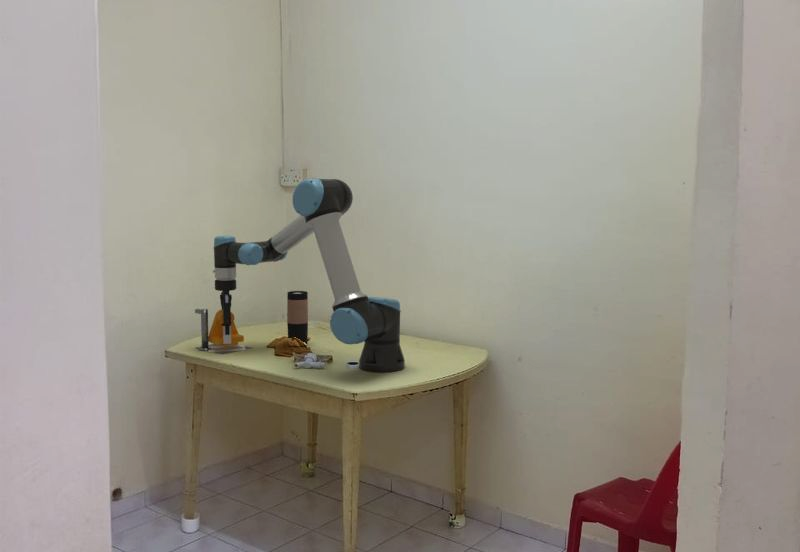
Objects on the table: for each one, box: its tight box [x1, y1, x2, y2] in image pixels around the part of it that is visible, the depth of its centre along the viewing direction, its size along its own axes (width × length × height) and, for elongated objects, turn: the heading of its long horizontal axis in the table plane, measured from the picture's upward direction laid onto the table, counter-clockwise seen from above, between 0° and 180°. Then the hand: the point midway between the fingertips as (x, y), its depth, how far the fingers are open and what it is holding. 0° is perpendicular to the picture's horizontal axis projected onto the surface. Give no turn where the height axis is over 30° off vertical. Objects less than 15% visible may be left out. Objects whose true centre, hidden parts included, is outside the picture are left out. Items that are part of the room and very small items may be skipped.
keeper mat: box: [194, 343, 254, 355], centre depth 260 cm, size 16×17×1 cm
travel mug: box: [286, 290, 309, 345], centre depth 268 cm, size 8×8×20 cm
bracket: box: [208, 309, 245, 346], centre depth 258 cm, size 11×7×12 cm, turn 128°
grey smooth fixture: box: [194, 308, 212, 352], centre depth 257 cm, size 7×4×15 cm
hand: (226, 340), depth 259 cm, fingers closed on bracket, 9 cm apart
